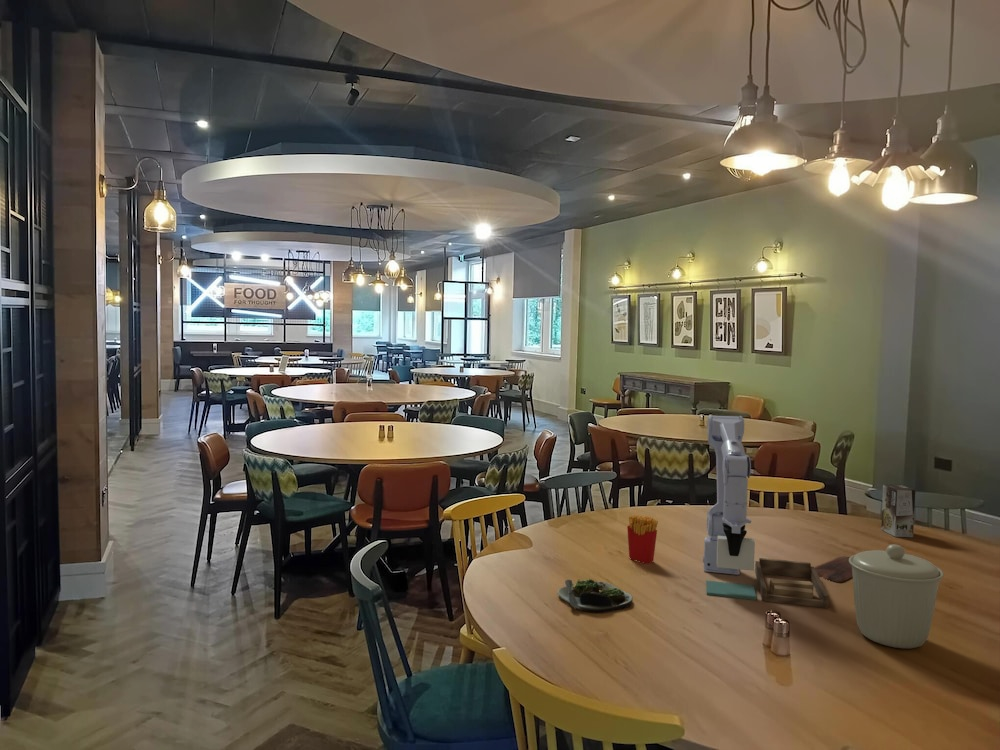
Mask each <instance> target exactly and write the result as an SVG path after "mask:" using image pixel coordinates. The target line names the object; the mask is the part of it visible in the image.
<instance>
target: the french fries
mask: <svg viewBox="0 0 1000 750" xmlns="http://www.w3.org/2000/svg"><path fill="white" fill-rule="evenodd" d="M628 519H629V520H628V521H629V524H628V525H627V539H628V540H627V542H628V543H627V544H628V558H629V557H630V558H631V559H633V560H637V561H640V562H639V563H641V562H644V563H643V564H651V562H652V561H653V562H654V558H655V557H654V556H655V551H656V541H657V536H658V535H657V533H658V530H657V527H658V523H659V520H657V519H655V518H654V517H652V516H648V515H645V516H643V515H638V514H637V515H636V514H635V515H629V517H628ZM630 558H629V559H630ZM631 559H630V560H631ZM633 560H632V561H633ZM637 561H636V562H637ZM653 562H652V563H653Z"/></svg>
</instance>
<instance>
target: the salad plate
mask: <svg viewBox="0 0 1000 750" xmlns="http://www.w3.org/2000/svg"><path fill="white" fill-rule="evenodd" d="M564 583H565V586H563V587H560V588H559V589H558V590H557V594H558V596H559V597H560V598H561V599H562V600H563V601H565V602H566V603H568V604H569V605H570V606H571V607H572V608H574V609H575V610H578V611H580V612H584V613H589V614H590V613H591V614H604V613H610V612H611V613H612V612H616V611H620V610H624V609H626V608H628V607H629V606H631V605H632V603H633V596H632V594H630V593H628V592H627V591H624V590H622V589H620V588H618V587H617V586H615V585H613V584H612V583H608V582H604V581H596V580H595V581H594V580H593V579H592V578H591V579H590V578H588V579H584V580H581V579H580V578H578V579H577V581H576V583H575V584H574V583H573V582H572V579H566V580H565V581H564ZM599 590H601V591H599Z"/></svg>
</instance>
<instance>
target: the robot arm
mask: <svg viewBox="0 0 1000 750" xmlns="http://www.w3.org/2000/svg"><path fill="white" fill-rule="evenodd" d="M706 423H707V424H706V428H707V444H708V445H709V446H711V447H712V448H713V449H714V452H715V457H716V460H715V462H716V463H715V464H716V465H715V467H716V503H715V504H714V505H711V507H709V509H708V510H707V514H706V515H707V517H706V534H707V535H708V536H705V537H704V547H703V548H704V551H703V552H704V553H703V556H702V564H703V572H706V573H714V574H715V573H718V574H726V575H727V574H728V575H736V576H739V575H740V574H741V573H740V569H731V568H721V567H717V540H718V536H726V537H727V541H728V549H729V554H730V556H738V555H739V552H740V548H741V544H742V541H743V538H746V535H747V533H748V532H747V530H746V524H751V523H752V519H751V518H747V516H748V515H747V511H748V508H747V507H748V485H749V483H748V482H749V479H750V477H751V473H752V472H751V471H752V464H751V458H750V455H748V454H746V452H745V451H746V450H745V447H744V445H743V443H742V442H743V437H744V434H745V419H744V417H743V416H742V415H739V416H737V415H735V416H734V415H713V414H710V415H709V416H708V417H707V421H706Z"/></svg>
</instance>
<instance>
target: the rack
mask: <svg viewBox="0 0 1000 750" xmlns="http://www.w3.org/2000/svg"><path fill="white" fill-rule="evenodd" d="M811 565H812V563H811V562H806V561H795V560H785V559H784V560H783V559H776V558H775V559H773V558H764V557H759V560H754V573H755V576H756V580H757V586H758V589H759V594H760V597H761V601H763V602H771V603H781V604H789V605H797V606H798V605H799V606H805V607H806V606H807V607H815V608H824V609H825V608H826V609H829V599H830V597H829V594H828V591H827V589H826V588H825V586H824V584H823V582H822V580H821V577H819V576H818V574H817V572H816V570H815V566H811ZM764 575H772V576H784V577H793V578H803V579H810V582H811V583H812V584H813V585H814V586H813V589H815V592H816V594H817V596H818V598H819V599H815V598H813V599H808V598H799V597H789V596H780V595H772V594H771V593H770V594H769V593H768V589H767V585H766V581H765V579H764V578H765V577H764Z"/></svg>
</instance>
